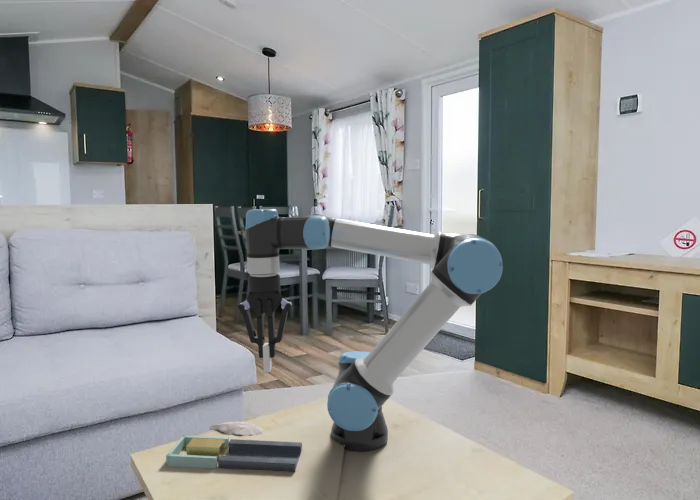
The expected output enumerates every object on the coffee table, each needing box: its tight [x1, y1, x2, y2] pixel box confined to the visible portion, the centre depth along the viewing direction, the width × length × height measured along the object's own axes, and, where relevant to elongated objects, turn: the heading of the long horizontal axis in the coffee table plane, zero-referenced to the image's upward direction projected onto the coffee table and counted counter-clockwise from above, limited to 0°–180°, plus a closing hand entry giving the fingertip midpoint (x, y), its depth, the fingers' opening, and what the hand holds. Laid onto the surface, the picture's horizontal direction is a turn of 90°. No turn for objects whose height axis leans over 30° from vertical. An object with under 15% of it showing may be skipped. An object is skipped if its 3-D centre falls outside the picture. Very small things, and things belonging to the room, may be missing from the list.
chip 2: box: [203, 439, 226, 462], centre depth 121 cm, size 4×4×4 cm
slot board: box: [217, 438, 303, 473], centre depth 121 cm, size 18×10×3 cm, turn 86°
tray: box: [165, 435, 230, 469], centre depth 122 cm, size 12×10×3 cm
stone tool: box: [209, 421, 264, 437], centre depth 136 cm, size 8×3×15 cm
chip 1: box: [185, 438, 208, 456], centre depth 122 cm, size 4×4×4 cm
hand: (267, 370), depth 122 cm, fingers closed
